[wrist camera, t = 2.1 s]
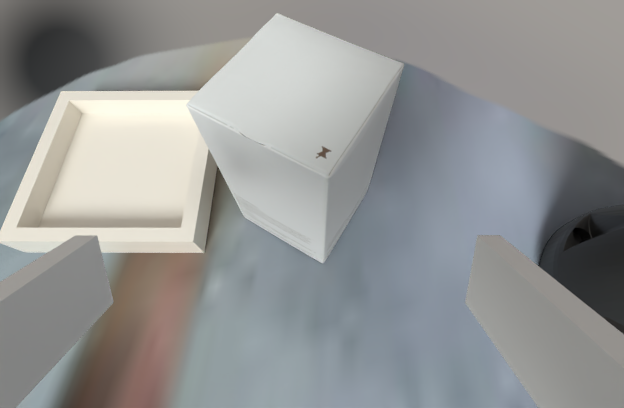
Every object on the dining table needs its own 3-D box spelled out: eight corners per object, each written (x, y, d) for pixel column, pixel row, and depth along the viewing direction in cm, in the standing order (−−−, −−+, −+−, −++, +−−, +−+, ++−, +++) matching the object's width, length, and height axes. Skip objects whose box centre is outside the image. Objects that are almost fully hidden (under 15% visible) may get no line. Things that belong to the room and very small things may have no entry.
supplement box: (371, 188, 32) (413, 61, 18) (323, 266, 28) (330, 182, 15) (292, 147, 34) (277, 6, 20) (239, 216, 31) (179, 102, 17)
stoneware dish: (225, 111, 36) (218, 90, 33) (204, 252, 29) (193, 241, 26) (80, 111, 36) (61, 91, 33) (25, 252, 29) (-5, 241, 27)
